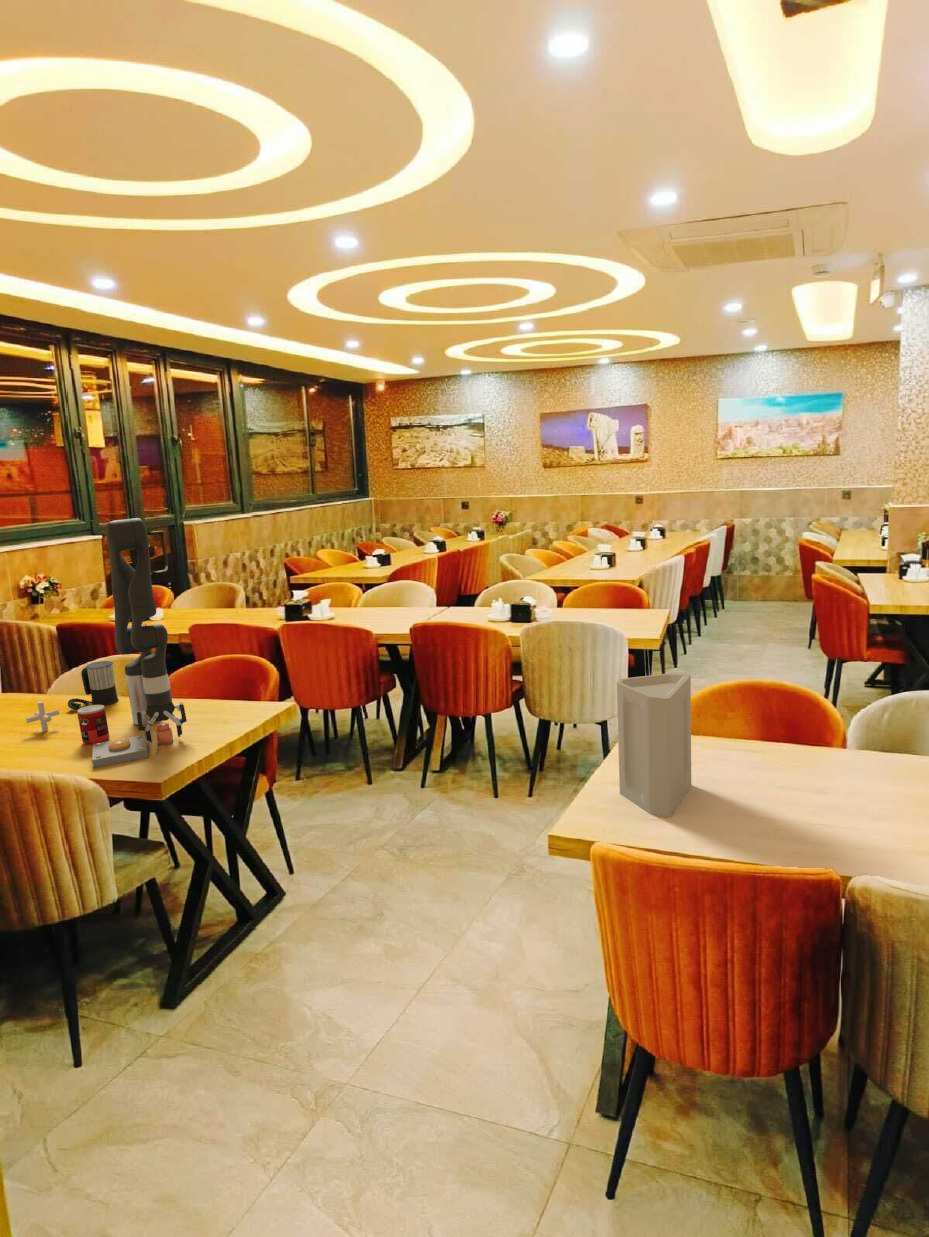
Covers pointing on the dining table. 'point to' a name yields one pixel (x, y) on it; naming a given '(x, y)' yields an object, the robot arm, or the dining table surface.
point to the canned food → (93, 724)
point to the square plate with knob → (119, 751)
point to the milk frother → (97, 685)
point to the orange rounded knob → (164, 734)
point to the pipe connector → (42, 716)
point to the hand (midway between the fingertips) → (164, 738)
